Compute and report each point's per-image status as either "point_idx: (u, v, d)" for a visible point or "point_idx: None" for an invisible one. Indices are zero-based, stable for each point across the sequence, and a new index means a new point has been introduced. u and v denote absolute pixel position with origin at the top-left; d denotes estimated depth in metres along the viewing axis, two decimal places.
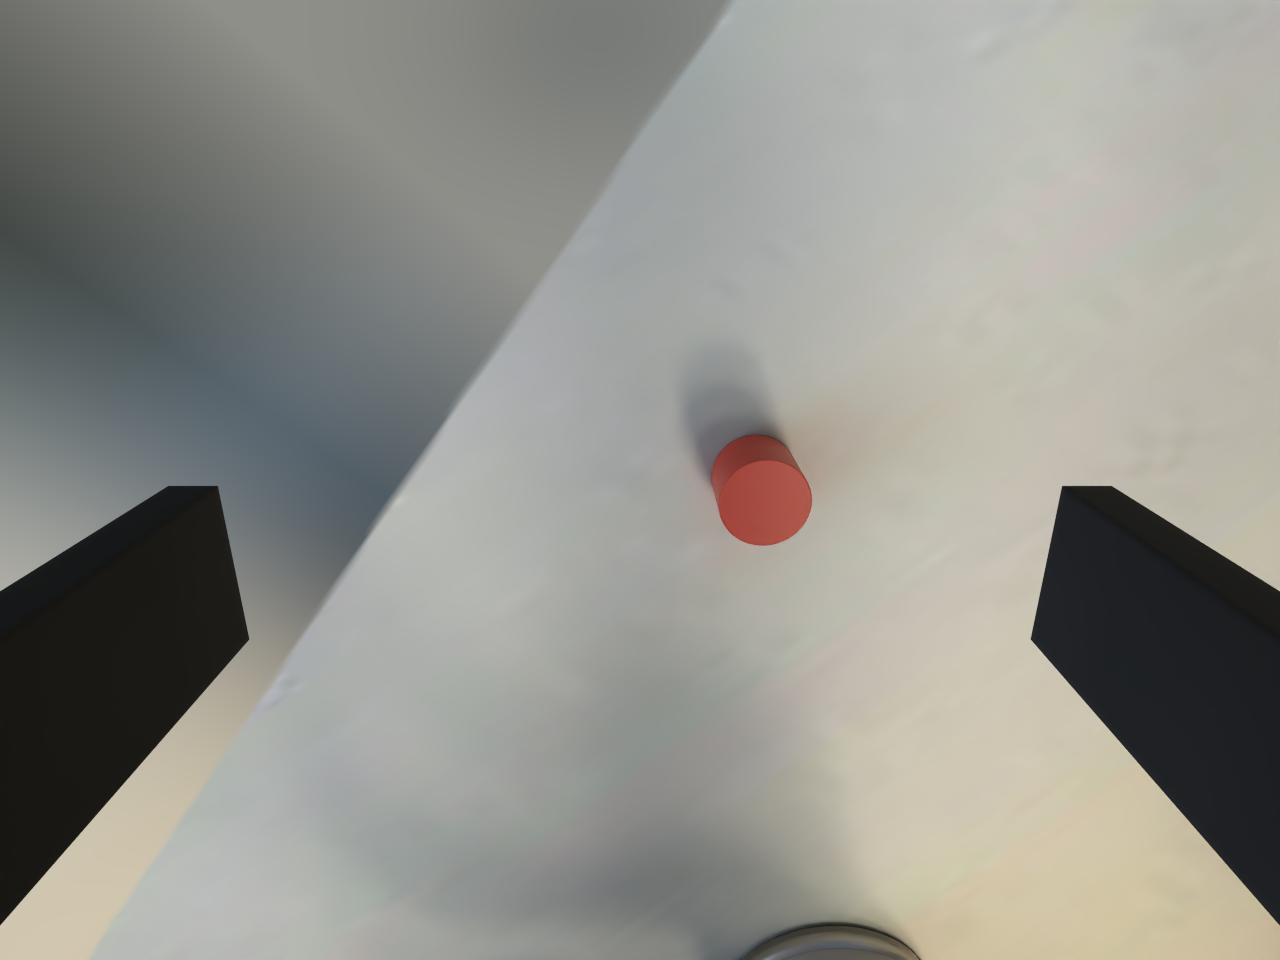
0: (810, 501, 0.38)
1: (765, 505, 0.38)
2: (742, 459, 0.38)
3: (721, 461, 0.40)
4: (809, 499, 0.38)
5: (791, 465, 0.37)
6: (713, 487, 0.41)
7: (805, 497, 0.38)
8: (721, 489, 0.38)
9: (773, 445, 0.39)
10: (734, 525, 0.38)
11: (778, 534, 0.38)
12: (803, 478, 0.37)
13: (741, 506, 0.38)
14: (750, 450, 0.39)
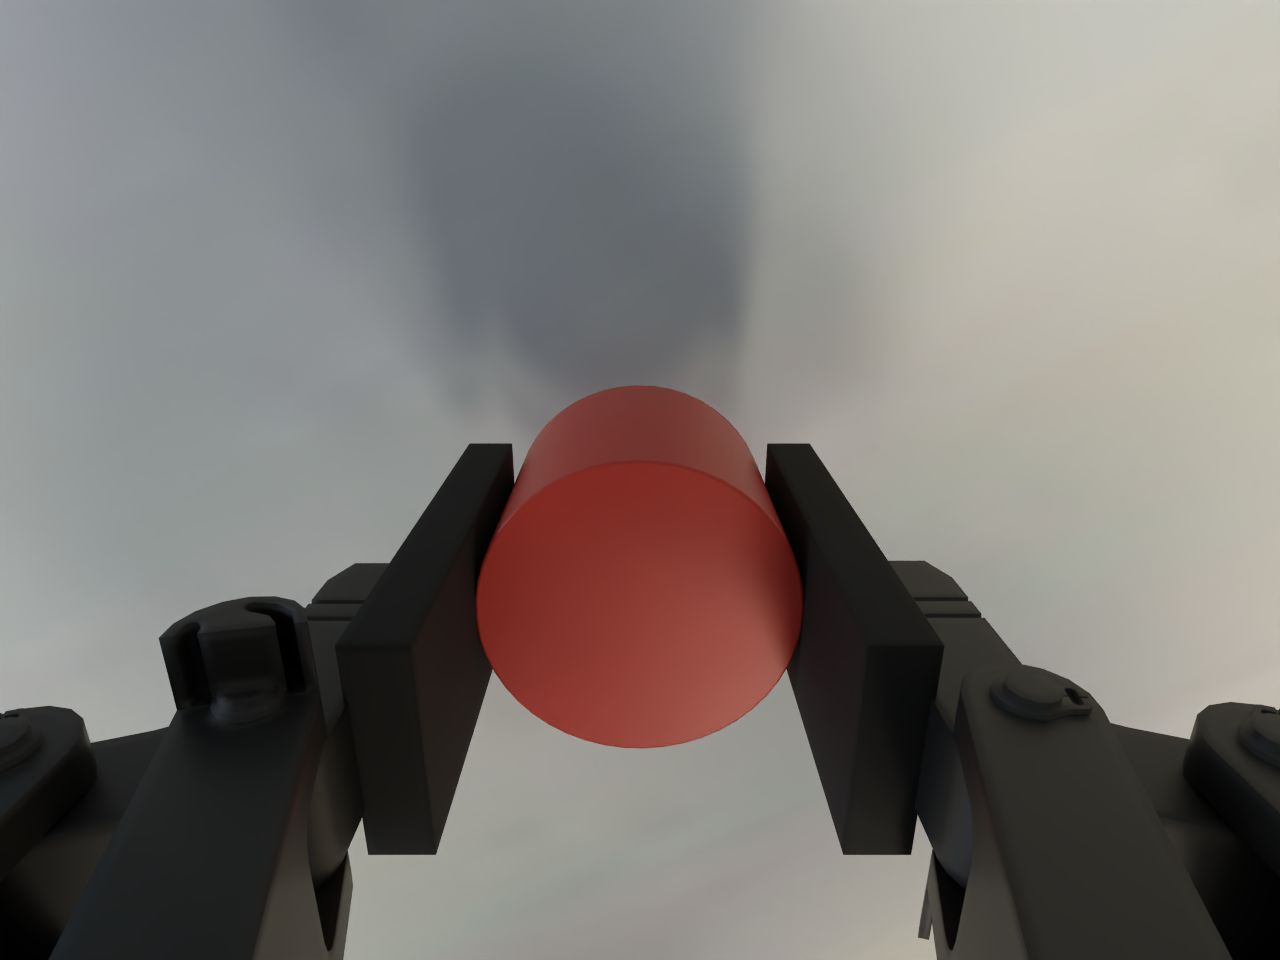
0: (796, 633, 0.11)
1: (638, 620, 0.11)
2: (587, 449, 0.11)
3: (538, 447, 0.13)
4: (794, 626, 0.11)
5: (752, 498, 0.10)
6: None
7: (782, 617, 0.11)
8: (491, 542, 0.10)
9: (705, 423, 0.12)
10: (524, 670, 0.11)
11: (670, 721, 0.11)
12: (787, 552, 0.10)
13: (556, 611, 0.11)
14: (624, 426, 0.11)
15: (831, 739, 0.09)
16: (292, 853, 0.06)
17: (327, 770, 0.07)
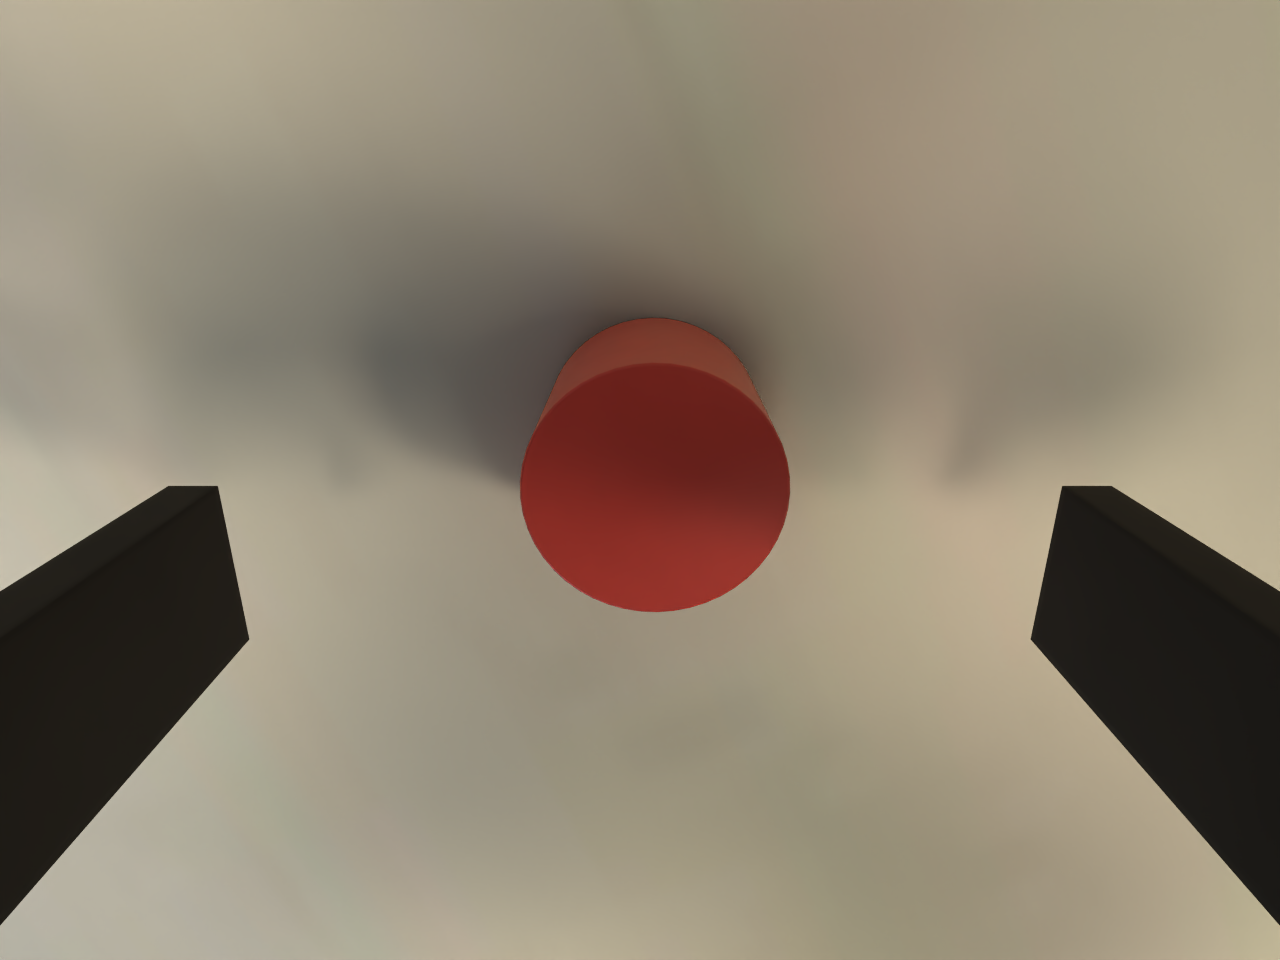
0: (784, 511, 0.13)
1: (653, 500, 0.13)
2: (612, 358, 0.13)
3: (568, 367, 0.15)
4: (782, 505, 0.13)
5: (748, 396, 0.12)
6: None
7: (772, 497, 0.13)
8: (534, 433, 0.13)
9: (710, 345, 0.15)
10: (559, 543, 0.13)
11: (679, 588, 0.14)
12: (776, 441, 0.13)
13: (586, 491, 0.13)
14: (642, 343, 0.14)
15: None
16: None
17: None
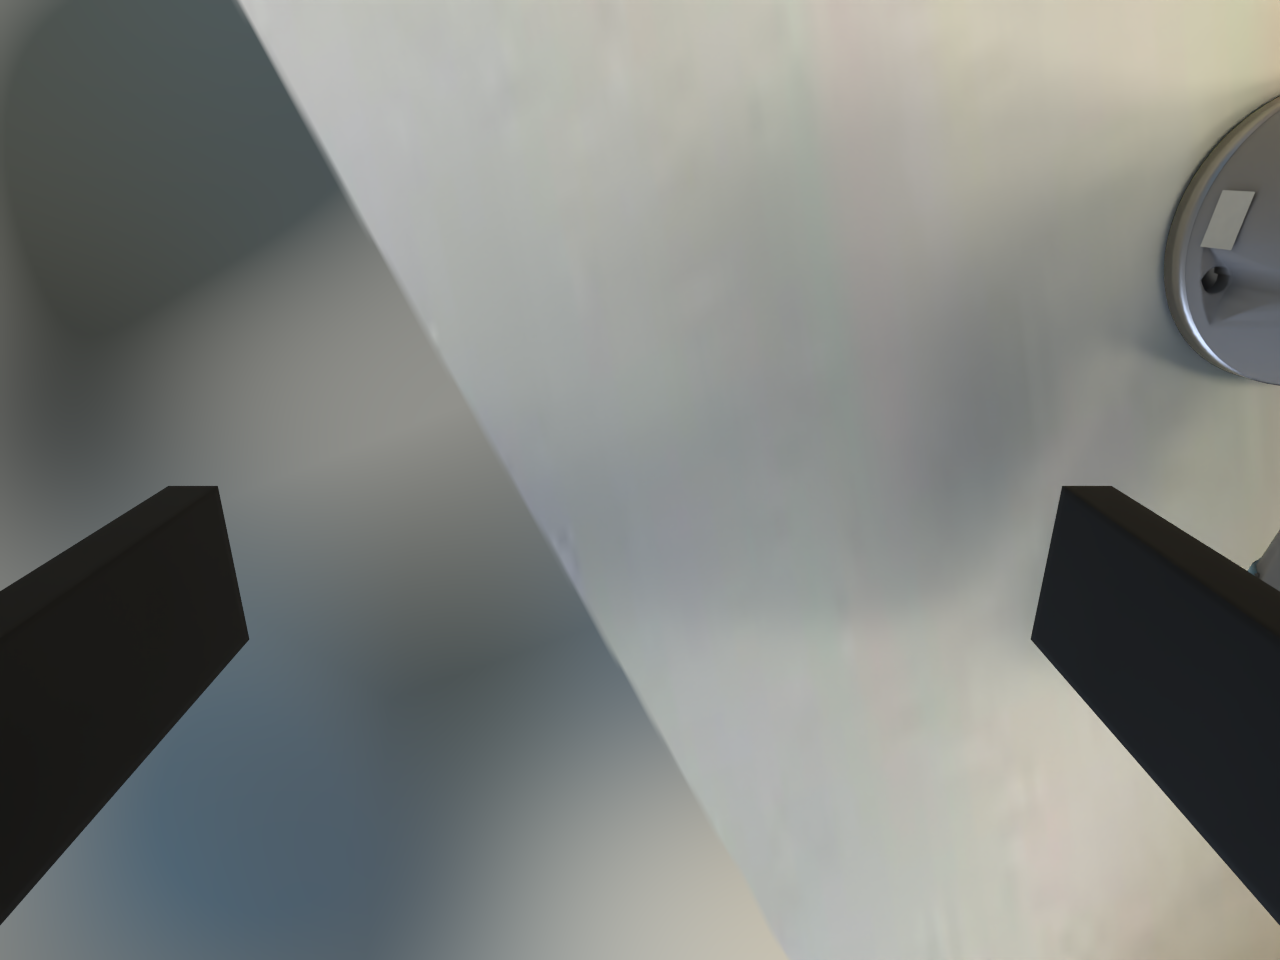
0: None
1: None
2: None
3: None
4: None
5: None
6: None
7: None
8: None
9: None
10: None
11: None
12: None
13: None
14: None
15: None
16: None
17: None
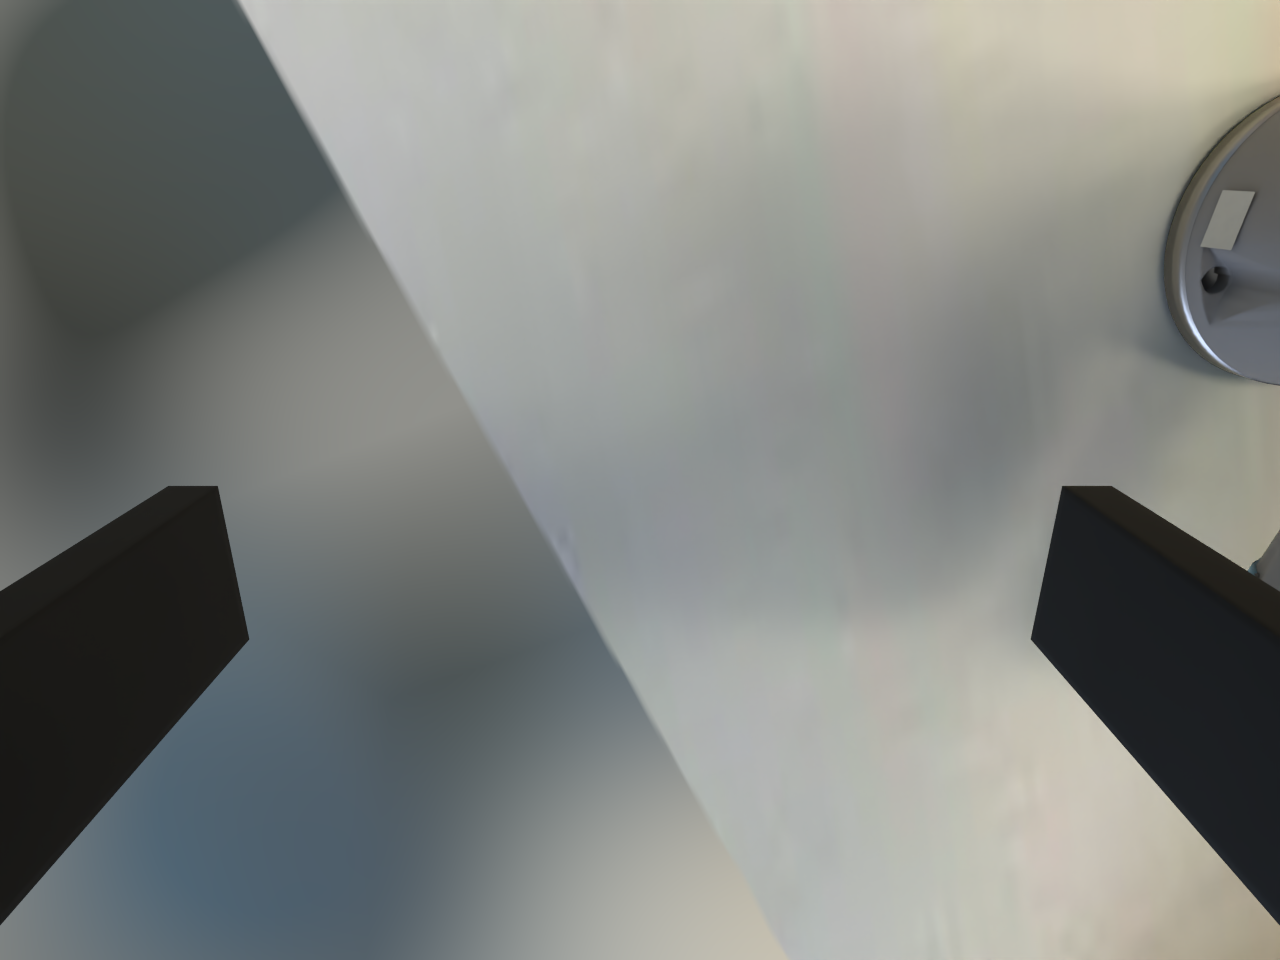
0: None
1: None
2: None
3: None
4: None
5: None
6: None
7: None
8: None
9: None
10: None
11: None
12: None
13: None
14: None
15: None
16: None
17: None
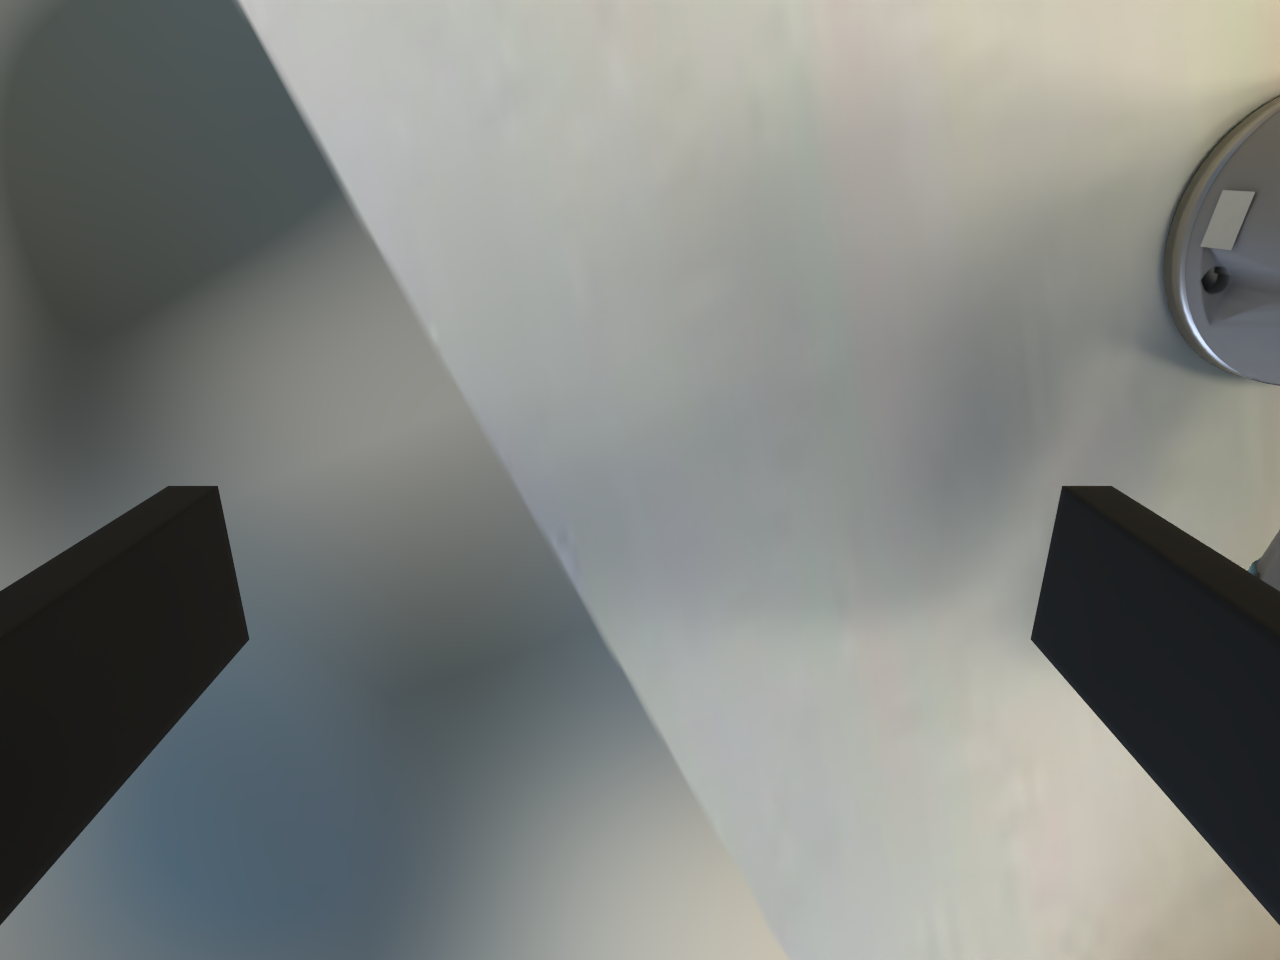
0: None
1: None
2: None
3: None
4: None
5: None
6: None
7: None
8: None
9: None
10: None
11: None
12: None
13: None
14: None
15: None
16: None
17: None
